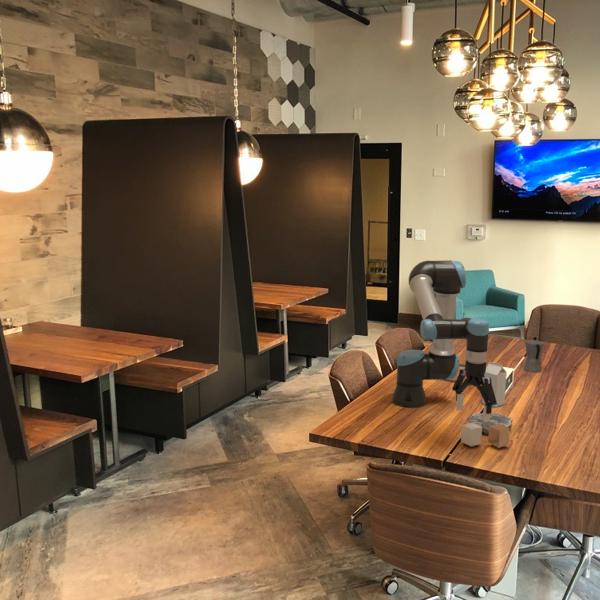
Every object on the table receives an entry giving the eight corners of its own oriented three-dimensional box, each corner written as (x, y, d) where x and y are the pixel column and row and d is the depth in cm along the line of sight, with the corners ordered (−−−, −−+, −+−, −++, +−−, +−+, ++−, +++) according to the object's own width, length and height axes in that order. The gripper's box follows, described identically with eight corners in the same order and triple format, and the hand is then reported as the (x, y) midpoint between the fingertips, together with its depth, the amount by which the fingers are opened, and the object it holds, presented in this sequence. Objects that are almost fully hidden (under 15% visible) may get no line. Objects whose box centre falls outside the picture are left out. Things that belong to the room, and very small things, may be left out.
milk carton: (495, 407, 293) (497, 366, 289) (481, 403, 298) (484, 362, 295) (504, 404, 297) (507, 363, 294) (491, 400, 303) (493, 360, 299)
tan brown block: (488, 445, 251) (489, 426, 250) (497, 442, 254) (498, 423, 253) (498, 450, 247) (499, 430, 246) (508, 447, 250) (509, 428, 248)
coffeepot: (520, 366, 358) (522, 333, 355) (538, 366, 358) (541, 334, 354) (527, 374, 343) (530, 340, 340) (546, 375, 343) (548, 341, 339)
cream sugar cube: (460, 441, 252) (461, 425, 251) (470, 439, 255) (471, 422, 254) (471, 446, 248) (471, 429, 247) (481, 443, 250) (482, 426, 249)
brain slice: (479, 416, 283) (479, 409, 282) (518, 426, 272) (518, 419, 272) (458, 429, 268) (458, 422, 267) (498, 440, 257) (499, 432, 257)
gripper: (444, 354, 254) (442, 407, 258) (494, 371, 233) (490, 428, 237) (459, 351, 258) (456, 403, 262) (509, 368, 237) (505, 424, 241)
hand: (472, 415), depth 250 cm, fingers open, 13 cm apart
